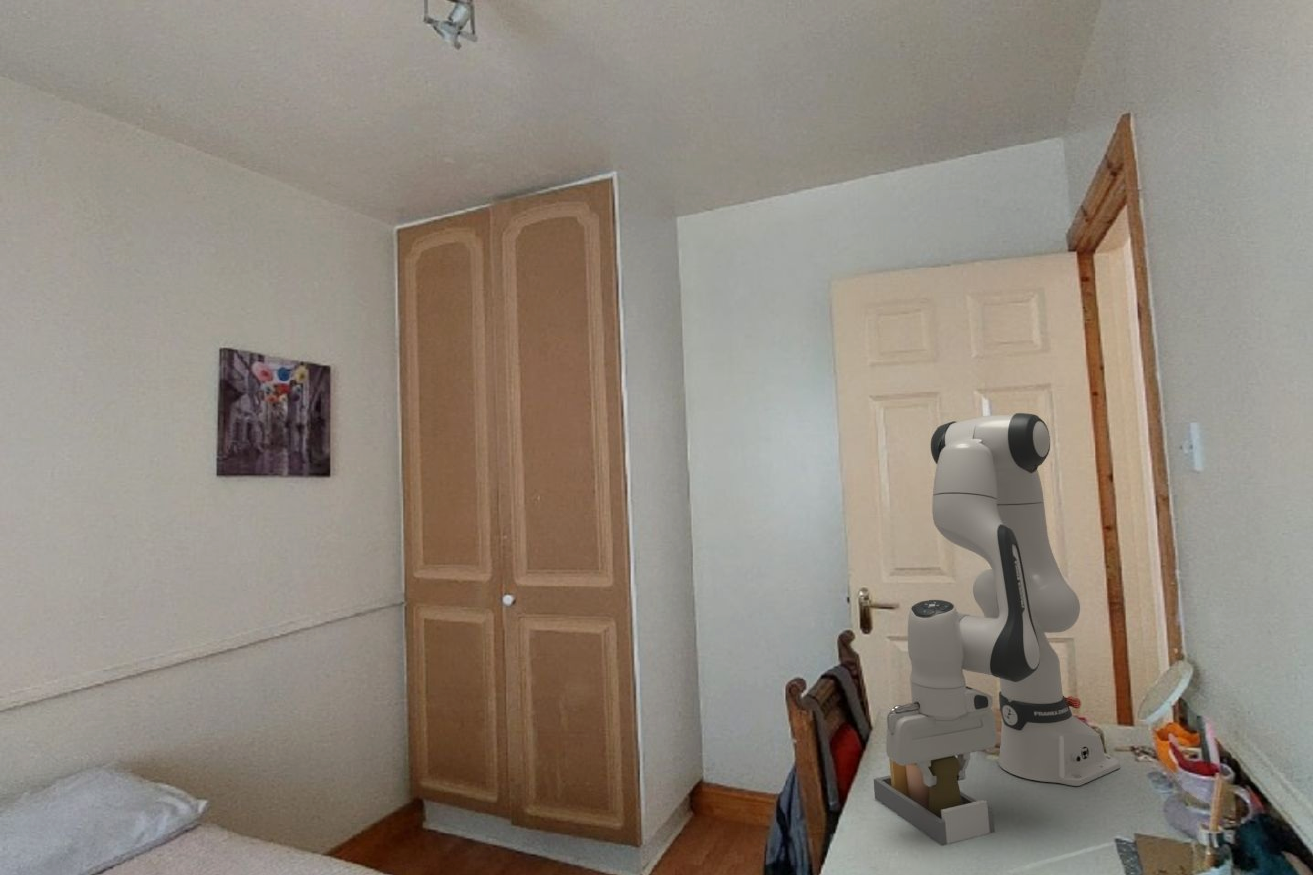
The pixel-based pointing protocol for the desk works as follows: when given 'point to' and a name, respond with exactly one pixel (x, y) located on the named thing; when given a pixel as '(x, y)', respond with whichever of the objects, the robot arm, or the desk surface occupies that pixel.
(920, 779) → the terracotta jar
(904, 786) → the block
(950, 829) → the gray open box
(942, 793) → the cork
